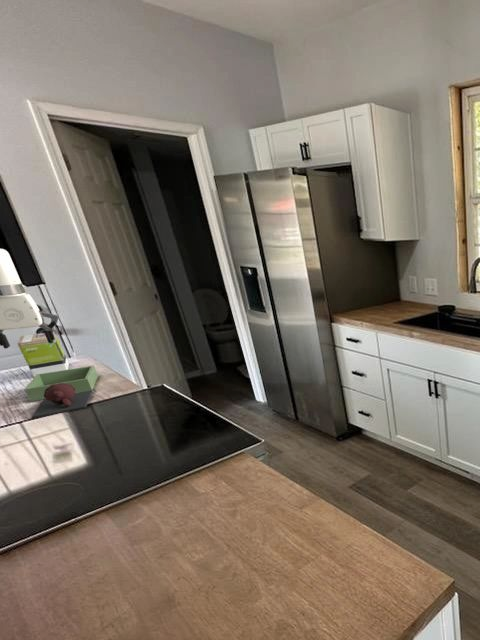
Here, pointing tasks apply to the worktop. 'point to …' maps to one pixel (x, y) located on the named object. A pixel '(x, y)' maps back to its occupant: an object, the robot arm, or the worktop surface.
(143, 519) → the worktop surface
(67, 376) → the basket
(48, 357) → the tea box
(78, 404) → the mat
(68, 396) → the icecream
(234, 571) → the worktop surface
